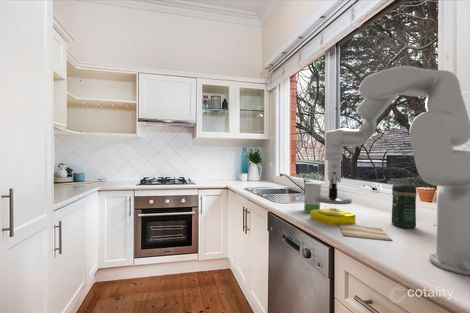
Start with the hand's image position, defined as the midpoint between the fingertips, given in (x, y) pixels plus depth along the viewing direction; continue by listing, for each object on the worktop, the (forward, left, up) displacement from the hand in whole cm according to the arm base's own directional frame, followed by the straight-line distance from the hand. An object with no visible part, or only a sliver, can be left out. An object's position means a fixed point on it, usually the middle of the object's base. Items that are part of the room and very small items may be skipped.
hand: (332, 196), depth 118 cm
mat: (-16, -10, -11) cm, 22 cm away
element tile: (0, 0, -12) cm, 12 cm away
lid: (0, 0, -2) cm, 2 cm away
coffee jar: (+1, -29, -11) cm, 31 cm away
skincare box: (+17, +9, -11) cm, 22 cm away
